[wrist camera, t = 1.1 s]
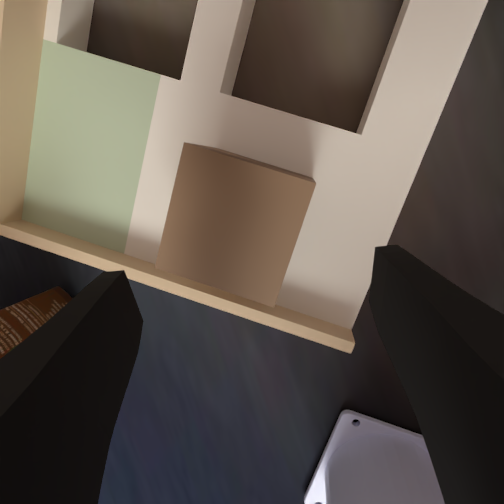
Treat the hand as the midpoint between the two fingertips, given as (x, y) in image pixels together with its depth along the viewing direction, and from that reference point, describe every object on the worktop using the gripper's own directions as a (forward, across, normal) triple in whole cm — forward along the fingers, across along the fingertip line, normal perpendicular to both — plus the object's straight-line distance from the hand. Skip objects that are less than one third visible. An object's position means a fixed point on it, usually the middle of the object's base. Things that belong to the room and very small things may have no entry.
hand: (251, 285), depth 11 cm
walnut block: (+8, 0, +2) cm, 8 cm away
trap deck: (+12, +1, -2) cm, 13 cm away
